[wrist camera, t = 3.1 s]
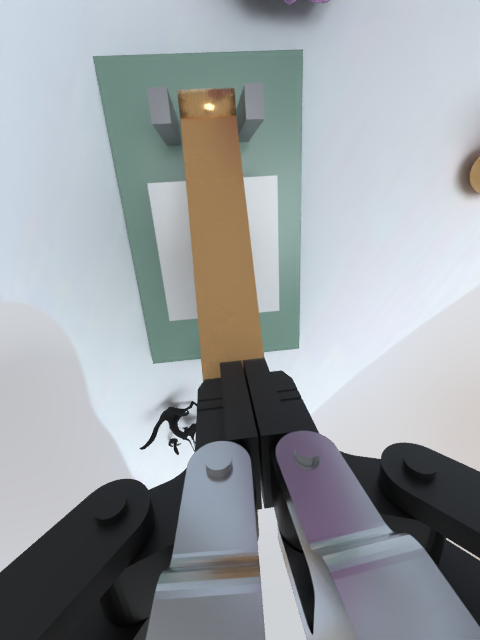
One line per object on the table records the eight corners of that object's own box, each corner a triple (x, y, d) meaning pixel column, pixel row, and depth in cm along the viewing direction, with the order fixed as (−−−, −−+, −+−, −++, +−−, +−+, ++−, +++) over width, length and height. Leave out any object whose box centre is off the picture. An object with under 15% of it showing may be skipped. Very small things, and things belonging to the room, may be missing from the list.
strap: (181, 109, 17) (176, 80, 16) (232, 107, 18) (233, 78, 16) (206, 401, 15) (204, 406, 13) (265, 394, 15) (270, 398, 14)
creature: (238, 408, 34) (190, 374, 30) (250, 449, 30) (196, 416, 26) (187, 446, 36) (135, 419, 31) (192, 491, 31) (132, 466, 27)
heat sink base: (100, 66, 21) (29, -25, 13) (296, 59, 22) (351, -30, 14) (155, 356, 29) (135, 416, 21) (294, 341, 30) (327, 394, 22)
